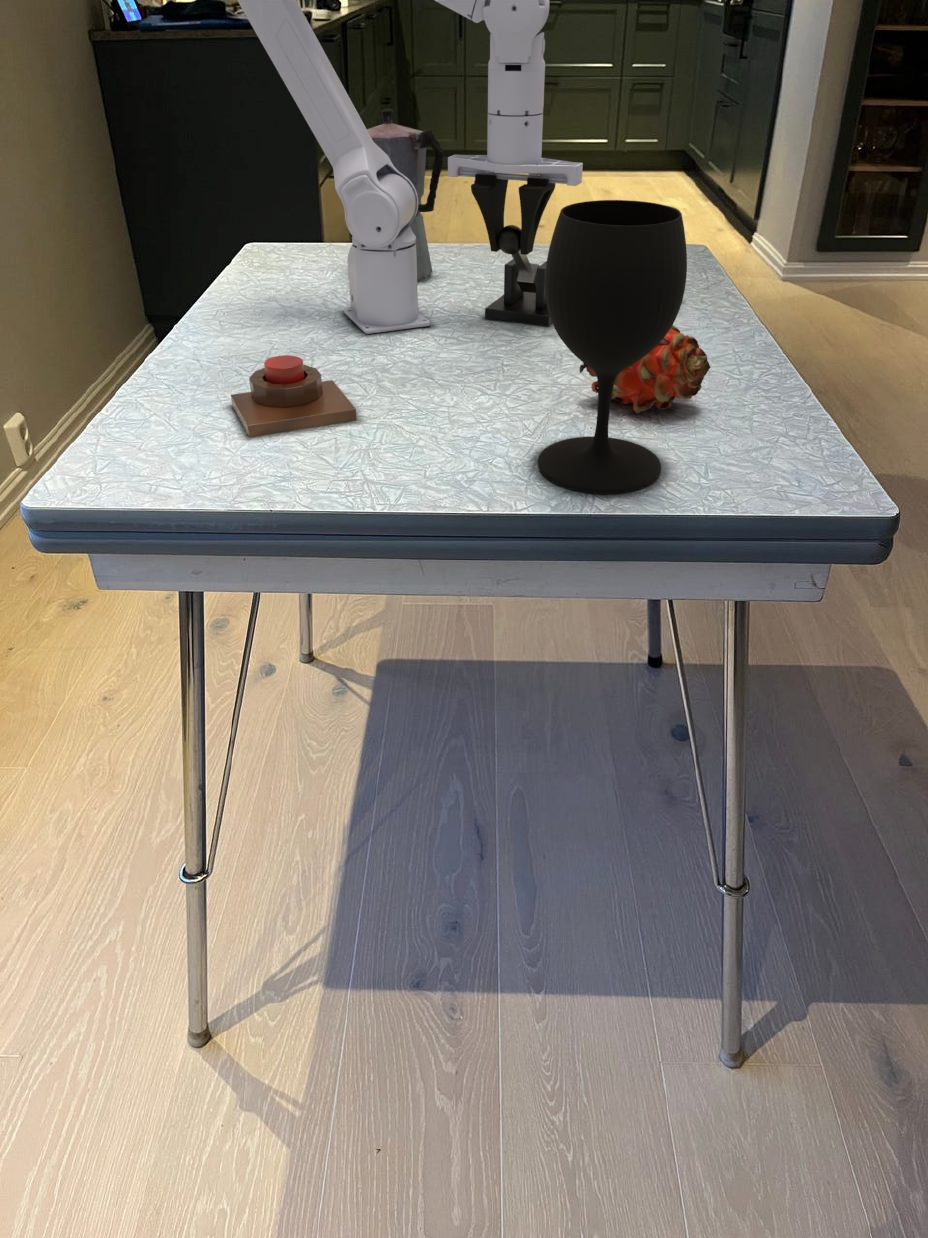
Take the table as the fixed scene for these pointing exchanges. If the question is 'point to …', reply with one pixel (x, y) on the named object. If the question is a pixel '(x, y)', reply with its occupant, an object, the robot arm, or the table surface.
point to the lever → (518, 257)
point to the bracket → (521, 299)
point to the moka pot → (412, 173)
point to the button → (284, 369)
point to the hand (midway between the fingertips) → (512, 251)
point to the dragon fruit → (661, 374)
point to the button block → (291, 404)
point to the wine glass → (611, 322)
